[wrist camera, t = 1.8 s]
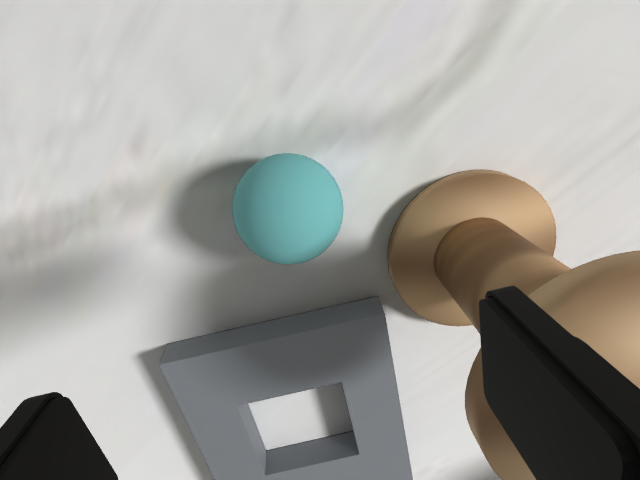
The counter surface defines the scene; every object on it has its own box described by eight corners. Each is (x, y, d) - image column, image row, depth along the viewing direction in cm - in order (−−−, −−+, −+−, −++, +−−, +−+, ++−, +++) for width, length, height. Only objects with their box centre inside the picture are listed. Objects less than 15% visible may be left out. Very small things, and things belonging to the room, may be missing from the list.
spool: (376, 190, 22) (473, 312, 11) (546, 152, 22) (822, 232, 11) (398, 329, 26) (485, 524, 15) (541, 297, 26) (739, 467, 15)
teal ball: (226, 157, 21) (207, 183, 16) (325, 134, 21) (338, 153, 16) (254, 247, 23) (245, 296, 18) (344, 227, 23) (360, 269, 18)
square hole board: (167, 343, 25) (158, 365, 23) (377, 296, 25) (384, 313, 23) (238, 497, 31) (236, 523, 30) (406, 459, 31) (413, 483, 30)
